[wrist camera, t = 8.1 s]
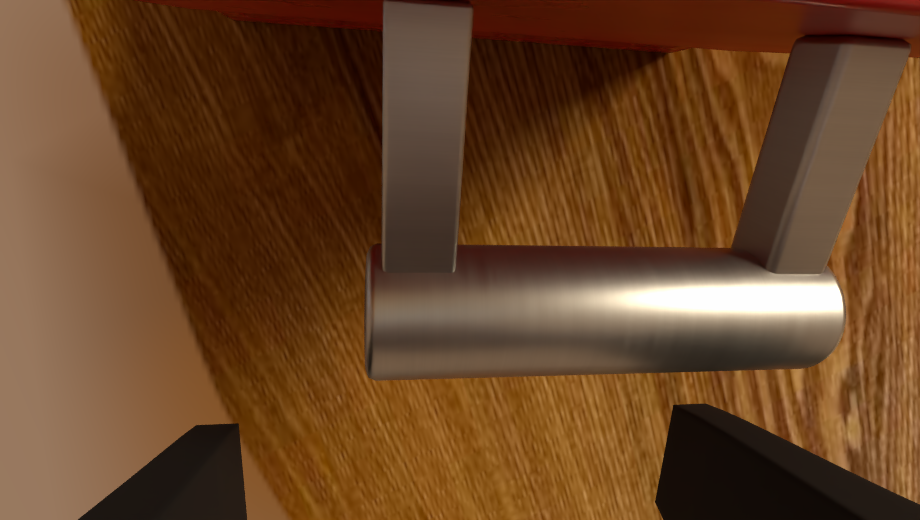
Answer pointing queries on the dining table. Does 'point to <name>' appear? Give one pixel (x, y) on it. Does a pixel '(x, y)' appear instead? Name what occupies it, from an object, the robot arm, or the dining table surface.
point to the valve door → (617, 268)
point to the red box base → (474, 33)
